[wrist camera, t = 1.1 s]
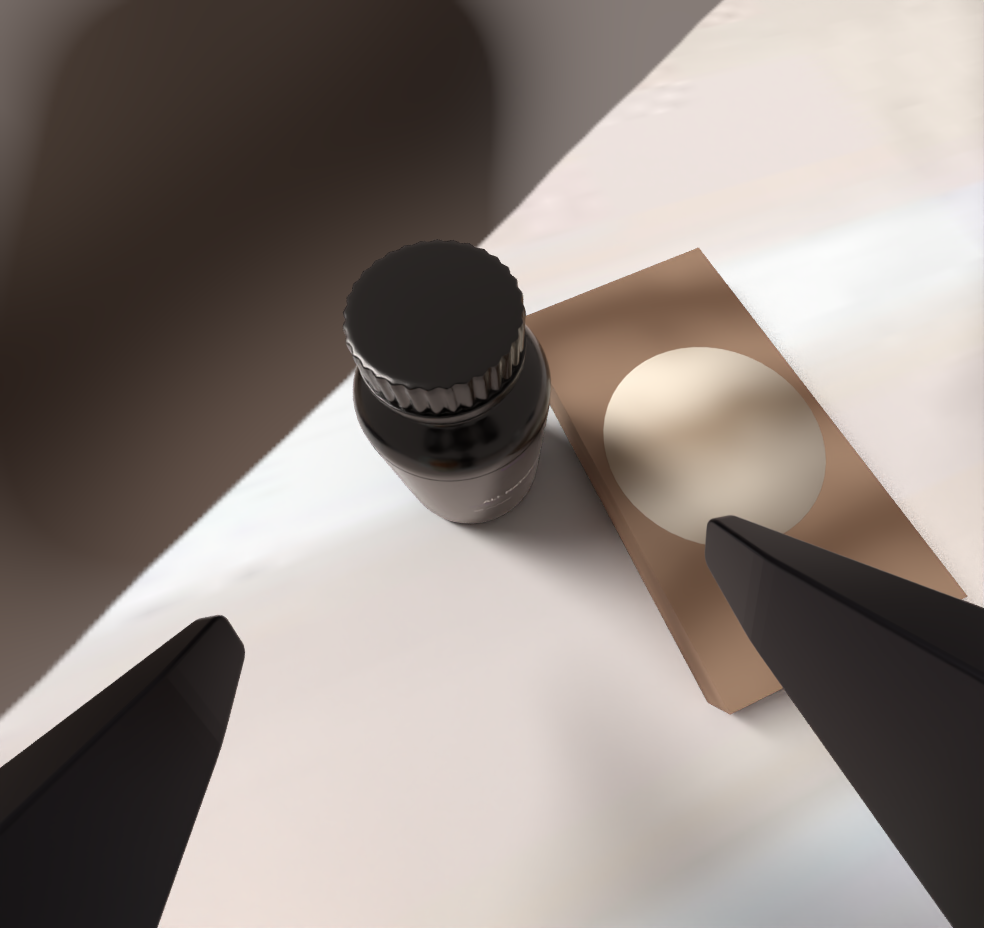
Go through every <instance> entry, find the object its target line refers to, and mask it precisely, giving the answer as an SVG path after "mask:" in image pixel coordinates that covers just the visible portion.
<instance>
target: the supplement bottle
mask: <svg viewBox="0 0 984 928" xmlns="http://www.w3.org/2000/svg"><path fill="white" fill-rule="evenodd" d="M343 315H344V318H345V322H344V324H343V331H344V333H345V335H346V345H347V347H348V349H349V350H350V352H351V353H352V356H353V359H354V361H355V363H356V365H357V367H356V370H355V375H354V382H353V401H354V407H355V412H356V415H357V419H358V421H359V424H360V426H361V428H362V430H363V432H364V434H365V435H366V437H367V438H368V440H369V441H370V443H371V444H372V446H373V447H374V448H375V450H376V451H377V452H378V453H379V454H380V455H381V457H382V458H383V459H384V460H385V461H386V463H387V464H388V465H389V466H390V467H391V468H392V470H393V471H394V472H395V473H396V474H397V475H398V477H399V478H400V479H401V480H402V481H403V483H404V484H405V485H406V486H407V487H408V488H409V490H410V491H411V492H412V493H413V494H414V495H415V497H416V498H417V499H418V500H419V501H420V502H421V503H422V504H423V505H424V506H425V507H426V508H427V509H429V510H430V511H431V512H433V513H435V514H436V515H438V516H440V517H442V518H444V519H447V520H450V521H453V522H458V523H467V524H473V523H482V522H487V521H490V520H493V519H496V518H498V517H500V516H502V515H504V514H506V513H507V512H509V511H510V510H512V509H513V508H514V507H515V506H516V505H518V504H519V503H520V501H521V500H522V499H523V498H524V497H525V495H526V494H527V492H528V491H529V489H530V487H531V485H532V483H533V480H534V477H535V474H536V470H537V466H538V462H539V457H540V451H541V446H542V441H543V436H544V431H545V426H546V421H547V416H548V411H549V405H550V397H551V374H550V368H549V364H548V360H547V357H546V355H545V352H544V350H543V348H542V346H541V344H540V342H539V341H538V339H537V338H536V336H535V335H534V334H533V332H532V331H531V330H530V329H529V328H528V327H527V325H526V324H525V317H526V311H525V307H524V305H523V293H522V292H521V290H520V289H519V288H518V282H517V279H516V278H515V277H514V276H512V275H511V274H510V270H509V267H507V266H505V265H504V264H502V263H501V262H500V260H499V259H498V257H496V256H493V255H490V254H489V253H488V252H487V251H486V250H485V249H481V248H475V247H474V246H473V245H471V244H470V243H459V242H457V241H454V240H450V241H442V240H433V241H430V242H425V241H420V242H418V243H416V244H414V245H405V246H403V247H401V248H400V249H399V250H396V251H392V252H389V253H388V254H387V255H385V257H383V258H381V259H379V260H376V261H375V262H374V263H373V264H372V266H371V267H370V268H368V269H366V270H365V271H363V273H362V274H361V277H360V279H359V280H358V281H356V282H355V283H354V284H353V288H352V292H351V293H350V294H349V295H348V297H347V306H346V308H345V310H344V312H343Z"/></svg>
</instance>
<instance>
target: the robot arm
mask: <svg viewBox="0 0 984 928" xmlns="http://www.w3.org/2000/svg"><path fill="white" fill-rule="evenodd" d="M705 560H706V564H707V566H708V568H709V570H710V572H711V573H712V575H713V577H714V579H715V580H716V582H717V584H718V586H719V588H720V589H721V591H722V593H723V595H724V596H725V598H726V600H727V602H728V603H729V605H730V607H731V609H732V611H733V612H734V614H735V616H736V618H737V619H738V621H739V623H740V625H741V626H742V628H743V630H744V632H745V633H746V635H747V637H748V638H749V640H750V641H751V643H752V644H753V646H754V647H755V649H756V650H757V652H758V653H759V655H760V656H761V658H762V659H763V660H764V662H765V663H766V665H767V666H768V667H769V669H770V670H771V672H772V673H773V674H774V676H775V677H776V679H777V680H778V682H779V683H780V684H781V686H782V687H783V689H784V690H785V691H786V693H787V694H788V696H789V697H790V698H791V700H792V701H793V703H794V704H795V706H796V707H797V708H798V710H799V711H800V713H801V714H802V715H803V717H804V718H805V720H806V721H807V722H808V724H809V725H810V727H811V728H812V730H813V731H814V732H815V734H816V735H817V737H818V738H819V739H820V741H821V742H822V744H823V745H824V746H825V748H826V749H827V751H828V752H829V754H830V755H831V756H832V758H833V759H834V761H835V762H836V763H837V765H838V766H839V768H840V769H841V770H842V772H843V773H844V775H845V776H846V778H847V779H848V780H849V782H850V783H851V785H852V786H853V787H854V789H855V790H856V792H857V793H858V794H859V796H860V797H861V799H862V800H863V802H864V803H865V804H866V806H867V807H868V809H869V810H870V811H871V813H872V814H873V816H874V817H875V818H876V820H877V821H878V823H879V824H880V826H881V827H882V828H883V830H884V831H885V833H886V834H887V835H888V837H889V838H890V840H891V841H892V843H893V844H894V845H895V847H896V848H897V850H898V851H899V852H900V854H901V855H902V857H903V858H904V859H905V861H906V862H907V864H908V865H909V867H910V868H911V869H912V871H913V872H914V874H915V875H916V876H917V878H918V879H919V881H920V882H921V883H922V885H923V886H924V888H925V889H926V891H927V892H928V893H929V895H930V896H931V898H932V899H933V900H934V902H935V903H936V905H937V906H938V907H939V909H940V910H941V912H942V913H943V915H944V916H945V917H946V919H947V920H948V922H949V923H950V924H951V926H952V927H953V928H984V608H983V607H980V606H977V605H974V604H972V603H969V602H966V601H964V600H961V599H958V598H956V597H953V596H950V595H947V594H945V593H942V592H939V591H937V590H934V589H931V588H929V587H926V586H923V585H920V584H918V583H915V582H912V581H910V580H907V579H904V578H902V577H899V576H896V575H893V574H891V573H888V572H885V571H883V570H880V569H877V568H875V567H872V566H869V565H867V564H864V563H861V562H858V561H856V560H853V559H850V558H848V557H845V556H842V555H840V554H837V553H834V552H831V551H829V550H826V549H823V548H821V547H818V546H815V545H813V544H810V543H807V542H804V541H802V540H799V539H796V538H794V537H791V536H788V535H786V534H783V533H780V532H777V531H775V530H772V529H769V528H767V527H764V526H761V525H759V524H756V523H753V522H750V521H748V520H745V519H742V518H740V517H737V516H734V515H727V516H722V517H717V518H712V519H710V520H709V521H708V523H707V528H706V541H705ZM244 658H245V649H244V645H243V643H242V641H241V640H240V638H239V637H238V635H237V633H236V632H235V630H234V629H233V627H232V626H231V624H230V622H229V621H228V619H227V618H226V617H224V616H222V615H215V616H210V617H205V618H200V619H198V620H195V621H194V622H193V623H191V624H190V625H189V626H187V627H186V628H185V629H183V630H182V631H181V632H179V633H178V634H177V635H175V636H174V637H173V638H171V639H170V640H169V641H167V642H166V643H165V644H163V645H162V646H161V647H159V648H158V649H157V650H156V651H154V652H153V653H152V654H150V655H149V656H148V657H146V658H145V659H144V660H142V661H141V662H140V663H138V664H137V665H136V666H134V667H133V668H132V669H130V670H129V671H128V672H126V673H125V674H124V675H122V676H121V677H120V678H119V679H117V680H116V681H115V682H113V683H112V684H111V685H109V686H108V687H107V688H105V689H104V690H103V691H101V692H100V693H99V694H97V695H96V696H95V697H93V698H92V699H91V700H89V701H88V702H87V703H85V704H84V705H83V706H81V707H80V708H79V709H78V710H76V711H75V712H74V713H72V714H71V715H70V716H68V717H67V718H66V719H64V720H63V721H62V722H60V723H59V724H58V725H56V726H55V727H54V728H52V729H51V730H50V731H48V732H47V733H46V734H44V735H43V736H42V737H41V738H39V739H38V740H37V741H35V742H34V743H33V744H31V745H30V746H29V747H27V748H26V749H25V750H23V751H22V752H21V753H19V754H18V755H17V756H15V757H14V758H13V759H11V760H10V761H9V762H7V763H6V764H5V765H3V766H2V767H1V768H0V928H157V927H158V925H159V922H160V919H161V916H162V913H163V911H164V908H165V905H166V902H167V899H168V897H169V894H170V891H171V888H172V885H173V883H174V880H175V877H176V874H177V871H178V868H179V866H180V863H181V860H182V857H183V854H184V852H185V849H186V846H187V843H188V840H189V838H190V835H191V832H192V829H193V826H194V823H195V821H196V818H197V815H198V812H199V809H200V807H201V804H202V801H203V798H204V795H205V793H206V790H207V787H208V784H209V781H210V779H211V776H212V773H213V770H214V767H215V764H216V762H217V759H218V756H219V753H220V750H221V747H222V743H223V739H224V736H225V733H226V729H227V725H228V721H229V717H230V713H231V709H232V705H233V701H234V698H235V694H236V690H237V686H238V682H239V678H240V674H241V670H242V666H243V662H244Z"/></svg>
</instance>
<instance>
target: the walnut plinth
mask: <svg viewBox="0 0 984 928" xmlns="http://www.w3.org/2000/svg"><path fill="white" fill-rule="evenodd" d="M525 324H526V325H527V327H528V328H529V329H530V330H531V331H532V332H533V334H534V335H535V336H536V338H537V339H538V341H539V342H540V344H541V346H542V348H543V350H544V352H545V355H546V357H547V360H548V364H549V368H550V374H551V397H550V406H551V408H552V409H553V411H554V413H555V415H556V417H557V419H558V421H559V423H560V425H561V426H562V428H563V430H564V432H565V434H566V436H567V438H568V440H569V442H570V443H571V445H572V447H573V449H574V451H575V453H576V455H577V457H578V459H579V460H580V462H581V464H582V466H583V468H584V470H585V472H586V474H587V476H588V477H589V479H590V481H591V483H592V485H593V487H594V489H595V491H596V493H597V494H598V496H599V498H600V500H601V502H602V504H603V506H604V508H605V510H606V511H607V513H608V515H609V517H610V519H611V521H612V523H613V525H614V527H615V528H616V530H617V532H618V534H619V536H620V538H621V540H622V542H623V544H624V545H625V547H626V549H627V551H628V553H629V555H630V557H631V559H632V561H633V562H634V564H635V566H636V568H637V570H638V572H639V574H640V576H641V578H642V579H643V581H644V583H645V585H646V587H647V589H648V591H649V593H650V595H651V596H652V598H653V600H654V602H655V604H656V606H657V608H658V610H659V612H660V613H661V615H662V617H663V619H664V621H665V623H666V625H667V627H668V629H669V630H670V632H671V634H672V636H673V638H674V640H675V642H676V644H677V646H678V647H679V649H680V651H681V653H682V655H683V657H684V659H685V661H686V663H687V664H688V666H689V668H690V670H691V672H692V674H693V676H694V678H695V680H696V681H697V683H698V685H699V687H700V689H701V691H702V693H703V695H704V697H705V698H706V700H707V702H708V703H709V704H711V705H713V706H715V707H717V708H719V709H721V710H723V711H725V712H727V713H729V714H732V713H734V712H736V711H738V710H740V709H742V708H744V707H746V706H748V705H750V704H752V703H754V702H756V701H758V700H760V699H762V698H764V697H766V696H768V695H770V694H772V693H774V692H776V691H778V690H781V689H783V687H782V686H781V684H780V683H779V682H778V680H777V679H776V677H775V676H774V674H773V673H772V672H771V670H770V669H769V667H768V666H767V665H766V663H765V662H764V660H763V659H762V658H761V656H760V655H759V653H758V652H757V650H756V649H755V647H754V646H753V644H752V643H751V641H750V640H749V638H748V637H747V635H746V633H745V632H744V630H743V628H742V626H741V625H740V623H739V621H738V619H737V618H736V616H735V614H734V612H733V611H732V609H731V607H730V605H729V603H728V602H727V600H726V598H725V596H724V595H723V593H722V591H721V589H720V588H719V586H718V584H717V582H716V580H715V579H714V577H713V575H712V573H711V572H710V570H709V568H708V566H707V564H706V560H705V541H706V528H707V523H708V521H709V520H710V519H712V518H717V517H722V516H727V515H734V516H737V517H740V518H742V519H745V520H748V521H750V522H753V523H756V524H759V525H761V526H764V527H767V528H769V529H772V530H775V531H777V532H780V533H783V534H786V535H788V536H791V537H794V538H796V539H799V540H802V541H804V542H807V543H810V544H813V545H815V546H818V547H821V548H823V549H826V550H829V551H831V552H834V553H837V554H840V555H842V556H845V557H848V558H850V559H853V560H856V561H858V562H861V563H864V564H867V565H869V566H872V567H875V568H877V569H880V570H883V571H885V572H888V573H891V574H893V575H896V576H899V577H902V578H904V579H907V580H910V581H912V582H915V583H918V584H920V585H923V586H926V587H929V588H931V589H934V590H937V591H939V592H942V593H945V594H947V595H950V596H953V597H956V598H958V599H963V598H965V597H967V595H966V594H965V592H964V591H963V590H962V588H961V587H960V586H959V585H958V583H957V582H956V581H955V579H954V578H953V577H952V575H951V574H950V573H949V572H948V570H947V569H946V568H945V566H944V565H943V564H942V563H941V561H940V560H939V559H938V557H937V556H936V555H935V553H934V552H933V551H932V550H931V548H930V547H929V546H928V544H927V543H926V542H925V540H924V539H923V538H922V537H921V535H920V534H919V533H918V531H917V530H916V529H915V528H914V526H913V525H912V524H911V522H910V521H909V520H908V518H907V517H906V516H905V515H904V513H903V512H902V511H901V509H900V508H899V507H898V505H897V504H896V503H895V502H894V500H893V499H892V498H891V496H890V495H889V494H888V493H887V491H886V490H885V489H884V487H883V486H882V485H881V483H880V482H879V481H878V480H877V478H876V477H875V476H874V474H873V473H872V472H871V470H870V469H869V468H868V467H867V465H866V464H865V463H864V461H863V460H862V459H861V458H860V456H859V455H858V454H857V452H856V451H855V450H854V448H853V447H852V446H851V445H850V443H849V442H848V441H847V439H846V438H845V437H844V435H843V434H842V433H841V432H840V430H839V429H838V428H837V426H836V425H835V424H834V423H833V421H832V420H831V419H830V417H829V416H828V415H827V413H826V412H825V411H824V410H823V408H822V407H821V406H820V404H819V403H818V402H817V400H816V399H815V398H814V397H813V395H812V394H811V393H810V391H809V390H808V389H807V388H806V386H805V385H804V384H803V382H802V381H801V380H800V378H799V377H798V376H797V375H796V373H795V372H794V371H793V369H792V368H791V367H790V365H789V364H788V363H787V362H786V360H785V359H784V358H783V356H782V355H781V354H780V353H779V351H778V350H777V349H776V347H775V346H774V345H773V343H772V342H771V341H770V340H769V338H768V337H767V336H766V334H765V333H764V332H763V330H762V329H761V328H760V327H759V325H758V324H757V323H756V321H755V320H754V319H753V318H752V316H751V315H750V314H749V312H748V311H747V310H746V308H745V307H744V306H743V305H742V303H741V302H740V301H739V299H738V298H737V297H736V296H735V294H734V293H733V292H732V290H731V289H730V288H729V286H728V285H727V284H726V283H725V281H724V280H723V279H722V277H721V276H720V275H719V273H718V272H717V271H716V270H715V268H714V267H713V266H712V264H711V263H710V262H709V261H708V259H707V258H706V257H705V255H704V254H703V253H702V251H701V250H700V249H699V248H696V249H694V250H691V251H689V252H686V253H684V254H681V255H679V256H676V257H674V258H671V259H669V260H666V261H664V262H661V263H658V264H656V265H653V266H651V267H648V268H646V269H643V270H641V271H638V272H636V273H633V274H631V275H628V276H626V277H623V278H621V279H618V280H616V281H613V282H610V283H608V284H605V285H603V286H600V287H598V288H595V289H593V290H590V291H588V292H585V293H583V294H580V295H578V296H575V297H573V298H570V299H568V300H565V301H563V302H560V303H557V304H555V305H552V306H550V307H547V308H545V309H542V310H540V311H537V312H535V313H532V314H530V315H527V316H526V317H525Z"/></svg>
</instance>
